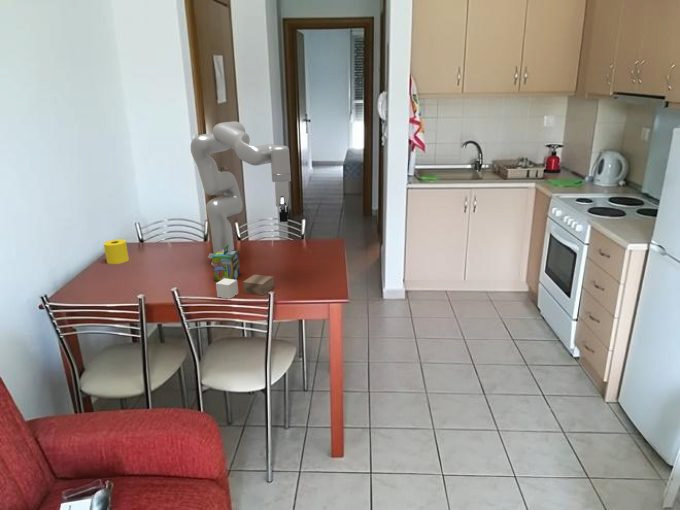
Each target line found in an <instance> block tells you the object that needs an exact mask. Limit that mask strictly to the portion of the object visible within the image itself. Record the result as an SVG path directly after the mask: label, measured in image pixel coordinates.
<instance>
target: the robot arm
mask: <svg viewBox="0 0 680 510" xmlns="http://www.w3.org/2000/svg"><path fill="white" fill-rule="evenodd" d="M250 141H251V140H250V135H249V134H248V133H247V132H246V128H245V126H244V125H243V124H242V123H241V122H239V121H226V122H225V121H224V122H219V123H217V124H215V125H214V127H212V132H211V133H203V134H199V135H197V136H195V137H193V139H192V141H191V143H190V153H191V157H192V158H193V160H194V162H195V164H196V167H197V170H198V173H199V176H200V181H201V185H202V188H203V190H204V192H205V194H206V195H208V196H216V195H217V196H218V195H221V194H223V195H222V196H218V197H214V198H212V199H210V200H209V201H208V202H207V203H206V205H205V212H206V215H207V217H208V221H209V226H210V234H211V235H210V236H211V242H212V252H213V253H212V252H211V253H209V254H208V256H207V259H211V260H212V261H211V263H210V264H211V266H212V267H213V259H212V256H213V255H214V254H215V253H216V252H217V251H218V250H224V249H225V247H226V246H227V245H228V244H229V245H228V250H235V245H234V238H233V237H234V236H233V227H232V224H231V223H230V221H229V220H228V217H231V216H234V215H237V214H239V213H241V212H242V210H243V206H244V205H243V204H244V203H243V199H242V196H241V195H242V194H241V192H240V188H239V186H238V181H237V179H236V177H235V175H234V174H233V173H231V171H219V167H218V163H217V162H216V161H215V159H214V158H213V157H212V156H211V155H210V154H215V153H220V152H221V153H222V152H226V151H228V150H230V149H232V150H234V152H235V154H236V156H237V157H238V158H239V160H241V161H242V162H245V163H246V164H248V165H251V166H255V167H257V166H261V165H266V164H270V169H271V181H272V183H274V194H275V196H274V197H275V206H276V207H277V208H278V207H279V212H278V214H279V222H280V223H287V222H289V220H288V219H289V218H288V216H289V207H288V205H289V199H290V198H289V196H290V195H289V191H290V190H289V182H291V181H292V177H291V163H290V149H289V146H287V145H276V144H273V143H268V144H261V145H256V146H254V145H251V144H250ZM226 249H227V248H226Z"/></svg>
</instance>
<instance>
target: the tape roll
mask: <svg viewBox="0 0 680 510" xmlns="http://www.w3.org/2000/svg"><path fill="white" fill-rule="evenodd" d="M103 247H104V248H103V249H104V253H105V254H104V255H105V259H106V263H107V264H108V265H119V264H123V263H125V262H128V261H129V260H130V258H129V252H128V246H127V240H126V239H121V238H119V239H118V238H117V239H112V240H107V241H105V242H104V243H103Z"/></svg>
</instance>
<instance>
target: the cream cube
mask: <svg viewBox="0 0 680 510" xmlns="http://www.w3.org/2000/svg"><path fill="white" fill-rule="evenodd" d="M238 285H239V284H238V279H236V280H234V279H227V278H224V279H222V280H221V281H216V283H215V289H216V295H217V296H216V297H217V298H219V297H221V299H226V298H231V299H232V298H234V297H235V295H236V296H237V295H239V286H238Z"/></svg>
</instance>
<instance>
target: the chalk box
mask: <svg viewBox="0 0 680 510" xmlns="http://www.w3.org/2000/svg"><path fill="white" fill-rule="evenodd" d="M228 245H229V244H228ZM228 245H227V246H226V247H225V249H224V250H218V251H217V252H216V253H215V254H214V253H213V254H214V255H213V256H212V259H213V266H212V267H213V277H214V281H216V282H219V281H221V280H222V279H224V278H227V279H234V280H238V279H237V278H238V277H240V275H241V268H240V267H241V266H240V253H239V250H238V249H234V250H228ZM226 248H227V249H226ZM212 259H211V260H212Z"/></svg>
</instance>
